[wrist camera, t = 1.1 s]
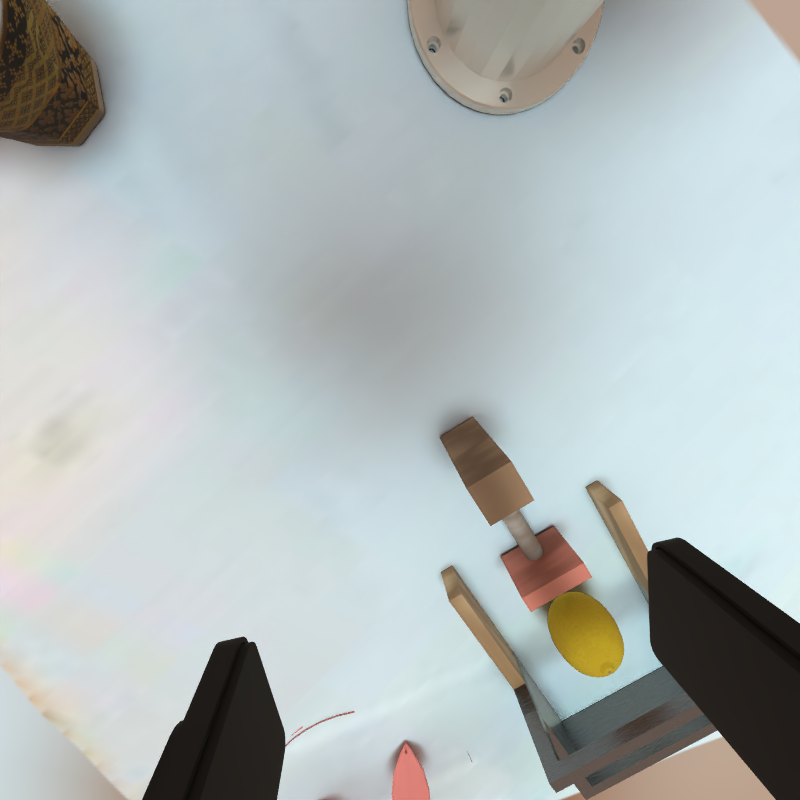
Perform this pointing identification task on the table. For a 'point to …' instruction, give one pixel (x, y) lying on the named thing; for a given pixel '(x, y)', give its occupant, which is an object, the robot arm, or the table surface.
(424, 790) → the figurine
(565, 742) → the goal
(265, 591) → the table surface
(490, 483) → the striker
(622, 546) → the lane
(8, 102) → the ceramic cup
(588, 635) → the lemon
